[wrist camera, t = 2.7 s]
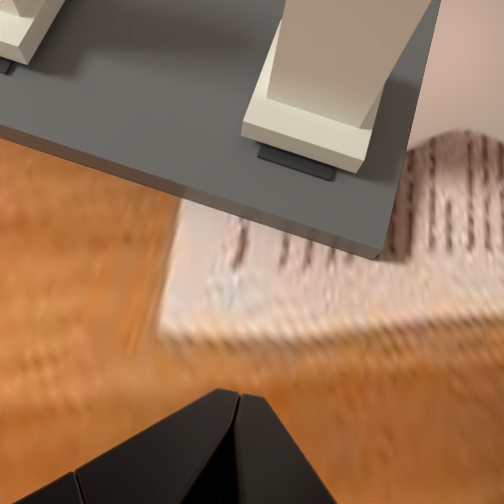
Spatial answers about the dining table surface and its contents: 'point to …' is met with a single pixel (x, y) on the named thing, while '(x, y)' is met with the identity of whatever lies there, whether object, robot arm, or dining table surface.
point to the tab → (25, 26)
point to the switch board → (203, 113)
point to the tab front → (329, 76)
